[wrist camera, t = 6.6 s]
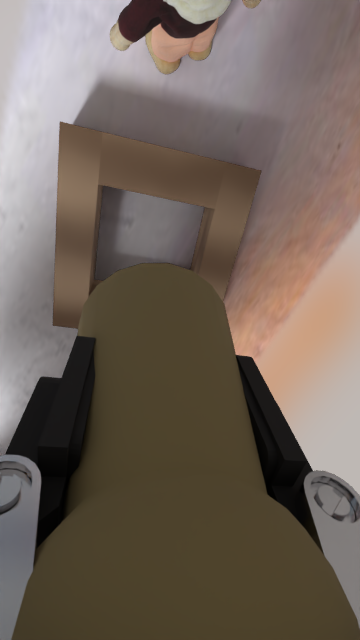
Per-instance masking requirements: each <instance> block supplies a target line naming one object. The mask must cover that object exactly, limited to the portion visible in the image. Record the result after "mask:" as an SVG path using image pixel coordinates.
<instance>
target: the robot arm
mask: <svg viewBox="0 0 360 640" xmlns="http://www.w3.org/2000/svg"><path fill="white" fill-rule="evenodd" d="M94 343H95V338H93V337H85V336H77V337H76V339H75V342H74V345H73V348H72V351H71V353H70V356H69V359H68V362H67V365H66V367H65V370H64V373H63V376H62V378H52V377H41V378H40V379H39V381H38V383H37V385H36V387H35V389H34V392H33V394H32V396H31V398H30V401H29V403H28V405H27V407H26V409H25V412H24V414H23V416H22V418H21V420H20V423H19V425H18V427H17V429H16V431H15V434H14V436H13V438H12V440H11V443H10V445H9V447H8V449H7V451H6V454H5V455H2V456H0V640H11V639H12V635H13V631H14V628H15V624H16V621H17V617H18V614H19V610H20V607H21V603H22V600H23V596H24V592H25V589H26V585H27V582H28V580H29V578H30V576H31V574H32V572H33V566H34V560H35V554H36V549H37V548H38V547H39V546H40V544H41V543H42V542H43V541H44V540H45V539H46V538H47V537H48V536H49V535H50V534H51V533H52V532H53V531H54V530H55V529H56V528H57V527H58V526H59V525H60V524H61V520H62V509H63V503H64V497H65V491H66V488H67V485H68V481H69V478H70V476H71V475H72V474H73V473H74V471H75V470H76V469H77V468H78V467H79V461H80V456H81V450H82V445H83V439H84V434H85V429H86V423H87V418H88V412H89V407H90V401H91V396H92V391H93V385H94V380H95V365H94ZM236 359H237V363H238V368H239V372H240V377H241V381H242V385H243V391H244V395H245V399H246V403H247V407H248V412H249V416H250V421H251V425H252V429H253V434H254V438H255V442H256V447H257V451H258V456H259V460H260V464H261V469H262V473H263V477H264V482H265V486H266V490H267V495H268V496H270V497H271V498H273V499H274V500H275V501H277V502H278V503H280V504H281V505H282V506H284V507H285V508H287V509H288V511H289V512H290V513H291V514H292V515H293V516H294V517H295V518H296V519H297V520H298V521H299V523H300V524H301V525H302V526H303V527H304V528H305V529H306V531H307V532H308V533H309V535H310V536H311V538H312V539H313V540H314V542H315V543H316V545H317V546H318V547H319V549H320V550H321V552H322V553H323V554H324V556H325V557H326V559H327V560H328V561H329V563H330V564H331V566H332V567H333V569H334V571H335V573H336V575H337V577H338V580H339V582H340V584H341V586H342V588H343V590H344V592H345V594H346V596H347V599H348V601H349V603H350V605H351V607H352V609H353V611H354V613H355V615H356V618H357V620H358V624H359V628H360V496H359V494H358V493H357V492H356V491H355V490H354V489H353V488H352V487H351V486H350V485H349V484H348V483H347V482H345V481H344V480H343V479H341V478H339V477H338V476H336V475H334V474H332V473H329V472H326V471H317V470H316V471H313V470H312V468H311V466H310V464H309V463H308V461H307V459H306V457H305V455H304V453H303V451H302V449H301V448H300V446H299V444H298V442H297V440H296V438H295V436H294V434H293V433H292V431H291V429H290V427H289V425H288V423H287V421H286V419H285V418H284V416H283V414H282V412H281V410H280V408H279V406H278V404H277V403H276V401H275V400H274V398H273V396H272V394H271V392H270V390H269V388H268V386H267V384H266V383H265V381H264V379H263V377H262V375H261V373H260V371H259V369H258V367H257V366H256V364H255V362H254V360H253V358H252V357H248V356H240V355H236Z"/></svg>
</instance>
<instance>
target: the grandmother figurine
mask: <svg viewBox="0 0 360 640" xmlns="http://www.w3.org/2000/svg"><path fill="white" fill-rule="evenodd" d="M231 1H232V0H132V1H131V2H130V4H129V5H128V6H126V7H125V8H124V9H123V11H122V12H121V13H120V15H119V19H118V21H117V23H116V24H115V25H114V26H113V27H112V28H111V30H110V40H111V43H112V45H113V46H114V47H115V48H116V49H117V50H120V51H124V50H126V49H128V47H129V46H130V44H132V43H134V42H137V41H138V40H139V39H141V38H142V37H144V36H145V35H146V44H147V47H148V49H149V52H150V54H151V56H152V58H153V60H154V62H155V64H156V66H157V68H158V69H159V71H160V72H162V73H164V74H170V73H172V72H174V71H175V70H176V69H177V68H178V67H179V64H180V58H181V57H183V56H185V55H186V54H189V56H190V57H191V58H192V59H193V60H204V59H205V58H207V57H208V55H209V54H210V51H211V45H212V38H213V36H214V34H215V32H216V29H217V24H218V19H219V16H221V15H222V14H223V13H224V12H225V11H226V10H227V8H228V6H229V4H230V2H231ZM242 1H243V3H244V5H245V6H246V7H248V8H254V7H256V6H257V5H258V4H259V3H260V1H261V0H242Z"/></svg>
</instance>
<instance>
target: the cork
mask: <svg viewBox="0 0 360 640" xmlns="http://www.w3.org/2000/svg"><path fill="white" fill-rule="evenodd" d="M78 336H85V337H93V338H95V343H94V365H95V380H94V385H93V391H92V396H91V401H90V407H89V412H88V418H87V423H86V429H85V434H84V439H83V445H82V450H81V456H80V461H79V467H78V468H77V469H76V470H75V471H74V473H73V474H72V475H71V476H70V478H69V481H68V485H67V488H66V491H65V497H64V503H63V509H62V520H61V524H60V525H59V526H58V527H57V528H56V529H55V530H54V531H53V532H52V533H51V534H50V535H49V536H48V537H47V538H46V539H45V540H44V541H43V542H42V543H41V544H40V546H39V547H38V548H37V549H36V554H35V560H34V566H33V572H32V574H31V576H30V578H29V580H28V582H27V585H26V589H25V592H24V596H23V600H22V603H21V607H20V610H19V614H18V617H17V621H16V624H15V628H14V631H13V635H12V639H11V640H360V628H359V624H358V620H357V618H356V615H355V613H354V611H353V609H352V607H351V605H350V603H349V601H348V599H347V596H346V594H345V592H344V590H343V588H342V586H341V584H340V582H339V580H338V577H337V575H336V573H335V571H334V569H333V567H332V566H331V564H330V563H329V561H328V560H327V559H326V557H325V556H324V554H323V553H322V552H321V550H320V549H319V547H318V546H317V545H316V543H315V542H314V540H313V539H312V538H311V536H310V535H309V533H308V532H307V531H306V529H305V528H304V527H303V526H302V525H301V524H300V523H299V521H298V520H297V519H296V518H295V517H294V516H293V515H292V514H291V513H290V512H289V511H288V509H287V508H285V507H284V506H282V505H281V504H280V503H278V502H277V501H275V500H274V499H273V498H271V497H270V496H268V495H267V490H266V486H265V482H264V477H263V473H262V469H261V464H260V460H259V456H258V451H257V447H256V442H255V438H254V434H253V429H252V425H251V421H250V416H249V412H248V407H247V403H246V399H245V395H244V391H243V385H242V381H241V377H240V372H239V368H238V363H237V359H236V354H235V349H234V345H233V341H232V336H231V332H230V327H229V323H228V319H227V314H226V310H225V306H224V303H223V301H222V300H221V298H220V297H219V295H218V294H217V292H216V291H215V289H214V288H213V286H212V285H211V284H210V283H208V282H207V281H206V280H204V279H203V278H202V277H200V276H199V275H198V274H196V273H195V272H193V271H191V270H188V269H185V268H182V267H179V266H176V265H173V264H170V263H141V264H138V265H135V266H131V267H128V268H125V269H122V270H118V271H117V272H115V273H114V274H112V275H111V276H109V277H108V278H107V279H105V280H104V281H102V282H101V283H100V284H98V285H97V286H96V288H95V289H94V290H93V292H92V293H91V295H90V296H89V298H88V299H87V300H86V302H85V303H84V305H83V309H82V313H81V317H80V321H79V325H78Z"/></svg>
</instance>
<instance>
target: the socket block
mask: <svg viewBox="0 0 360 640" xmlns="http://www.w3.org/2000/svg"><path fill="white" fill-rule="evenodd" d="M260 175H261V170H256V169H252V168H248V167H244V166H240V165H236V164H232V163H228V162H224V161H220V160H216V159H211V158H207V157H203V156H199V155H195V154H191V153H187V152H183V151H179V150H175V149H170V148H166V147H162V146H158V145H154V144H150V143H146V142H142V141H138V140H134V139H129V138H125V137H121V136H117V135H113V134H109V133H105V132H101V131H97V130H93V129H88V128H84V127H80V126H76V125H72V124H68V123H64V122H60V131H59V159H58V188H57V216H56V245H55V273H54V302H53V326H61V327H69V328H77V329H78V325H79V321H80V317H81V313H82V309H83V305H84V303H85V302H86V300H87V299H88V298H89V296H90V295H91V293H92V292H93V290H94V289H95V288H96V286H97V285H98V284H100V283H101V282H102V281H101V280H94V277H95V267H96V256H97V246H98V235H99V225H100V214H101V204H102V193H103V185H104V186H109V187H113V188H118V189H123V190H127V191H132V192H137V193H142V194H146V195H151V196H156V197H160V198H165V199H170V200H174V201H179V202H184V203H189V204H193V205H198V206H203V207H205V208H204V213H203V217H202V221H201V225H200V230H199V234H198V238H197V242H196V247H195V251H194V255H193V259H192V264H191V268H190V270H191V271H193V272H195V273H196V274H198V275H199V276H200V277H202V278H203V279H204V280H206V281H207V282H208V283H210V284H211V285H212V286H213V288H214V289H215V291H216V292H217V294H218V295H219V297H220V298H221V300H222V301H223V299H224V296H225V292H226V289H227V286H228V282H229V279H230V276H231V272H232V269H233V266H234V262H235V259H236V255H237V252H238V249H239V245H240V242H241V239H242V235H243V232H244V229H245V225H246V222H247V218H248V215H249V212H250V208H251V205H252V202H253V198H254V195H255V192H256V188H257V185H258V181H259V178H260Z"/></svg>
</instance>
